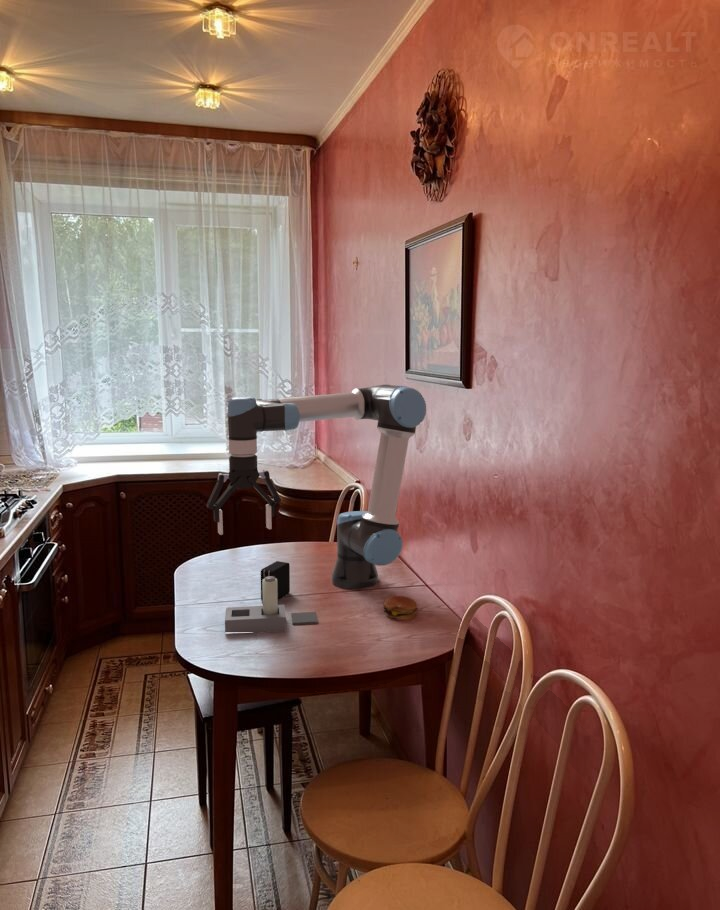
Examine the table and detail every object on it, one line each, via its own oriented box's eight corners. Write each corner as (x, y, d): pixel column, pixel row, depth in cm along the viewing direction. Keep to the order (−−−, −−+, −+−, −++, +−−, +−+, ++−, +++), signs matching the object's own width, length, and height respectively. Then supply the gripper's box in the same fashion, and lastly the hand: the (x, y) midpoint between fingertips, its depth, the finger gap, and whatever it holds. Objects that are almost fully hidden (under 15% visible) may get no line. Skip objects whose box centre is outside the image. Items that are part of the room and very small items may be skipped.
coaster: (315, 613, 194) (315, 611, 194) (318, 623, 187) (318, 621, 187) (291, 615, 193) (291, 613, 193) (292, 624, 186) (292, 622, 186)
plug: (277, 622, 188) (277, 575, 186) (278, 628, 184) (277, 580, 182) (263, 622, 187) (262, 575, 185) (263, 628, 183) (262, 580, 181)
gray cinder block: (284, 618, 191) (284, 604, 190) (285, 631, 182) (285, 617, 181) (226, 621, 188) (226, 607, 188) (225, 634, 179) (224, 620, 179)
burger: (412, 607, 200) (412, 592, 199) (421, 619, 191) (421, 604, 190) (379, 609, 198) (379, 594, 197) (387, 622, 189) (387, 606, 188)
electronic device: (290, 593, 210) (289, 562, 208) (272, 604, 201) (272, 571, 199) (278, 591, 212) (278, 560, 210) (260, 601, 203) (260, 569, 201)
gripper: (283, 449, 191) (284, 522, 195) (193, 455, 181) (196, 532, 185) (291, 453, 185) (292, 529, 188) (199, 459, 174) (202, 539, 178)
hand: (245, 530), depth 186 cm, fingers open, 13 cm apart
